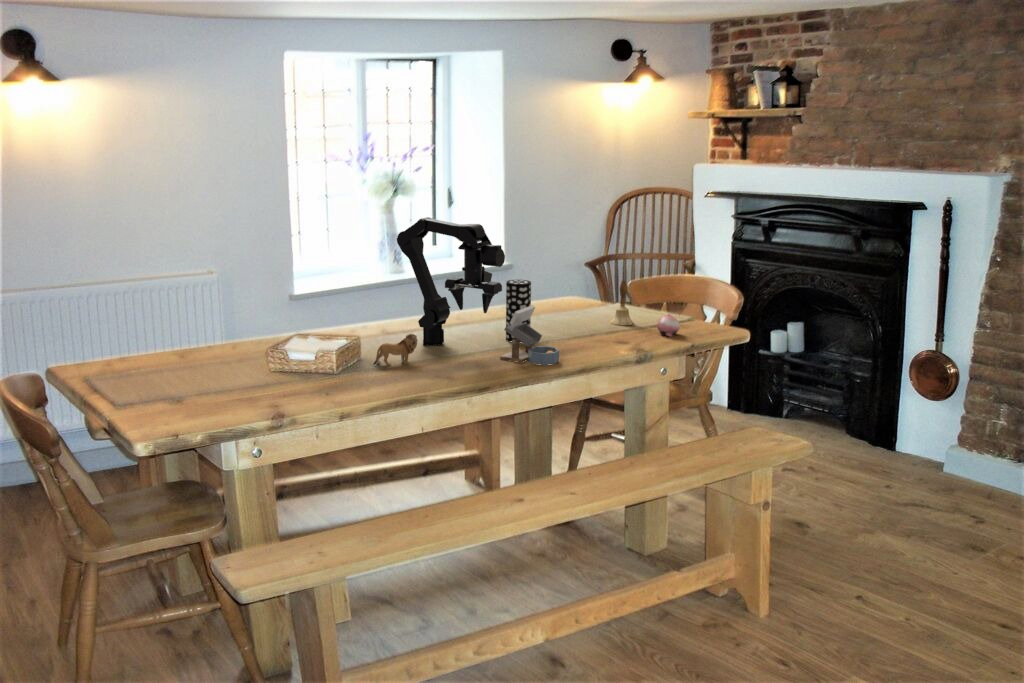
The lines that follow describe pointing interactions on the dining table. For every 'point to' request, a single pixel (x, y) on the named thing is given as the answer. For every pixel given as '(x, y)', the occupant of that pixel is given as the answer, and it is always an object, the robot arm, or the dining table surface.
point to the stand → (516, 352)
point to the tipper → (523, 327)
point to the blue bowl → (543, 355)
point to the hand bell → (622, 308)
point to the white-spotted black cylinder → (517, 300)
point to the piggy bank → (668, 325)
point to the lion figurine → (397, 349)
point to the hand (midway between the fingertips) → (473, 311)
